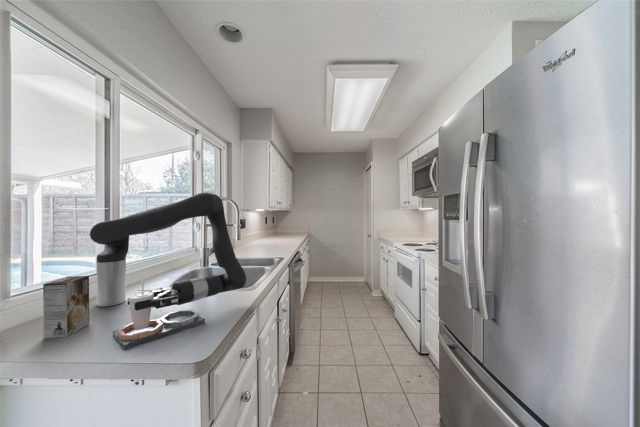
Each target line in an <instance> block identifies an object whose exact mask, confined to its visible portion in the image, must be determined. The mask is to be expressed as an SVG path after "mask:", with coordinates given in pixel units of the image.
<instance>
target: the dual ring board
mask: <svg viewBox="0 0 640 427" xmlns="http://www.w3.org/2000/svg"><path fill="white" fill-rule="evenodd" d="M192 316H193V315H191V314H181V315H177V316H173V317H170V318H168V319H167V321H181V320H184V319H188V318H191V317H192ZM160 318H161V317H160ZM160 318H157V319H158V320H160ZM205 324H206V318H204V317H202V316H201V315H199V317H198V318H197V319H196V320H195V321H193V322H191V323H188V324H185V325H181V326H164V325H163V328H162V329H161V330H159V331H158V332H157V333H155V334H153V335H150V336H147V337H143V338H140V339H131V340H121V339H120V338H119V337H118V335H117V331H118V330H119V329H116V330H114V331H112V338H114V341H116V342H117V344H118V345H119V346H120V347H121V348H122V350H124V351H126V350H130V349H133V348H136V347H138V346H141V345H145V344H147V343H150V342H151V343H152V342H153V341H157V340H160V339H163V338H166V337H168V336H171V335H172V336H173V335H174V334H178V333H181V332H183V331H187V330H190V329H193V328H196V327H198V326H202V325H205ZM155 327H156V325H149V326H148V327H147V328H145V329H141V330H134V328H131V329H129V330H127V331H126V332H124V333H125V334H133V333H141V332H145V331H148V330H151V329H154V328H155Z"/></svg>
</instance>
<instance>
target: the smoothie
mask: <svg viewBox="0 0 640 427" xmlns="http://www.w3.org/2000/svg"><path fill="white" fill-rule="evenodd" d="M144 291H145V280H144V279H143V280H141V292H136V293H132V294H129V295H128V296H127V302H128V301H129V302H130V305H129V308H130V313H131V319H132V323H133V327H134V330H141V329H145V328H147V327H148V326H149V321H150V320H151V312H152V308H151V307H149V308H145V309H141V310H137V311H136V310H135V309H134V304H135V303H136V302H140V301H145V300H149V299H150V301H151V299H152V298H153V297H154V293H153V292H144Z"/></svg>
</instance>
